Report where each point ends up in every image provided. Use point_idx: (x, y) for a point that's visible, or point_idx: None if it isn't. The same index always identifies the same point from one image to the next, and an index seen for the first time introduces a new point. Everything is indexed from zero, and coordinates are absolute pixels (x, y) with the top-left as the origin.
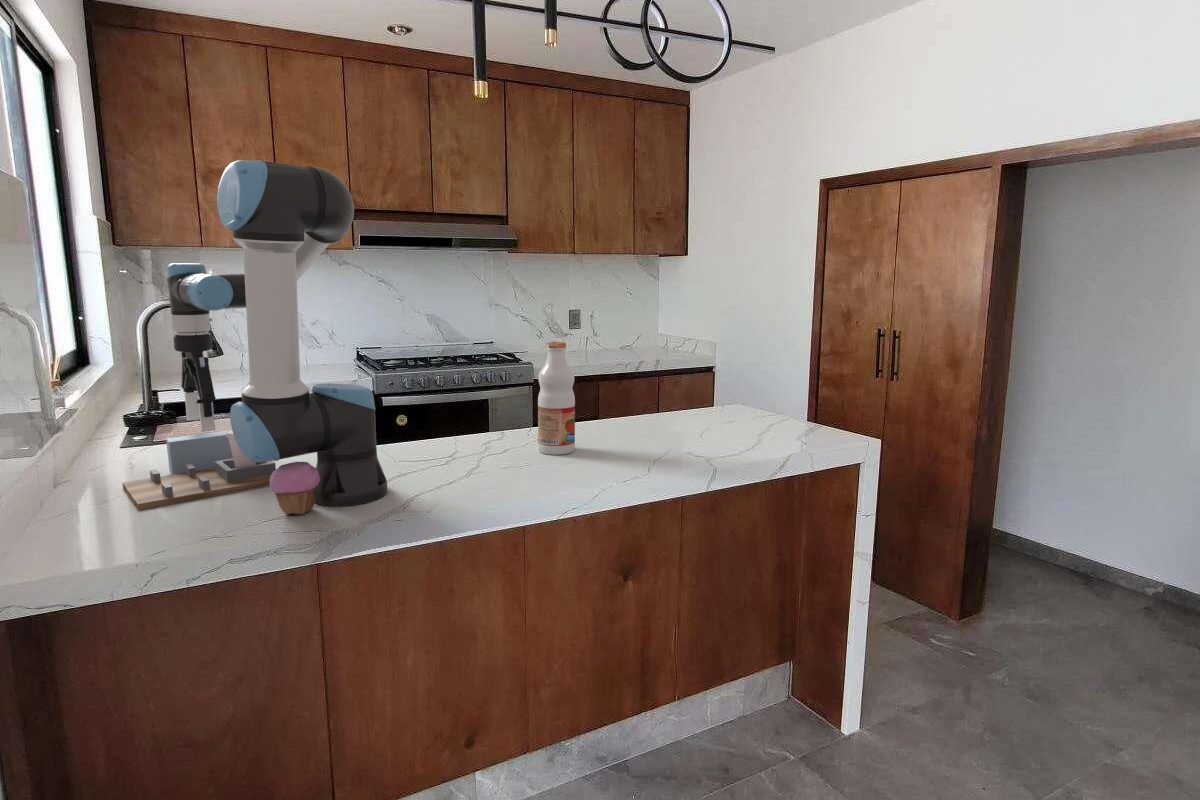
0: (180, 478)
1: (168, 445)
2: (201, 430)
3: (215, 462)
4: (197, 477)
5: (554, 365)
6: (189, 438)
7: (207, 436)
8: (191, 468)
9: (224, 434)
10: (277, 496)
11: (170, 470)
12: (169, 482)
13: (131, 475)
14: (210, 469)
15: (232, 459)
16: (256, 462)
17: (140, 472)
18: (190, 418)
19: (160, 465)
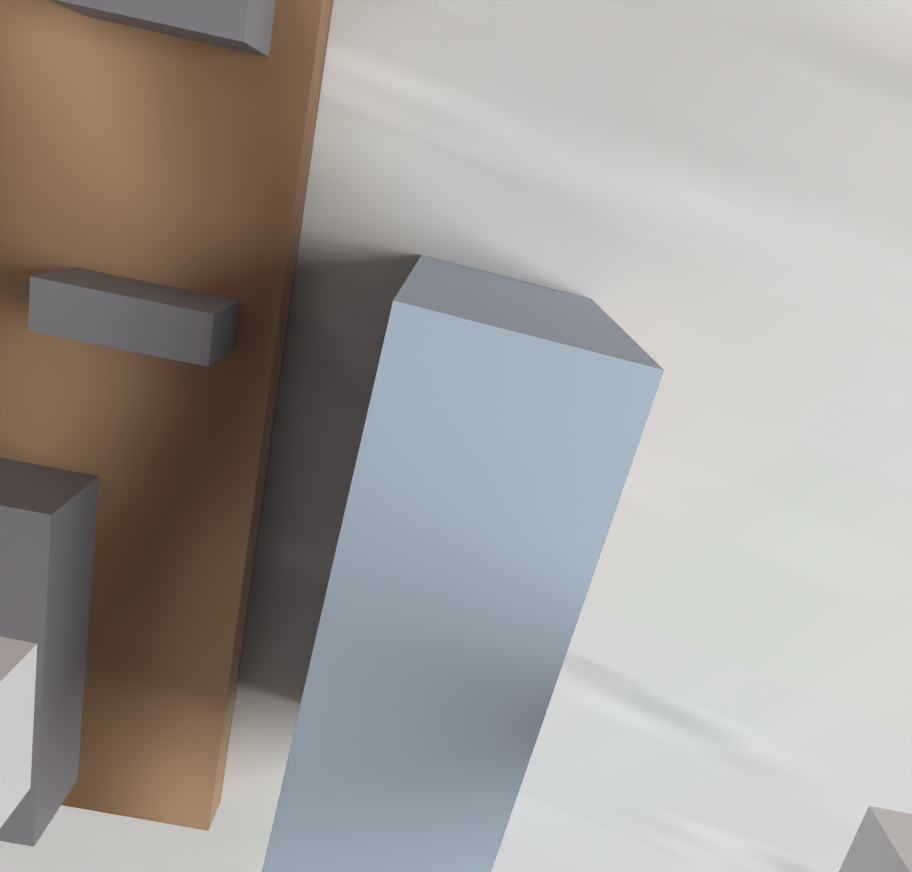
0: (100, 198)
1: (495, 315)
2: (2, 646)
3: (18, 506)
4: None
5: None
6: (403, 548)
7: (346, 713)
8: (33, 298)
9: (301, 853)
10: None
11: (531, 286)
12: (27, 70)
13: (757, 12)
14: (212, 486)
15: (5, 635)
16: None
17: (789, 115)
18: (865, 858)
19: (866, 335)
